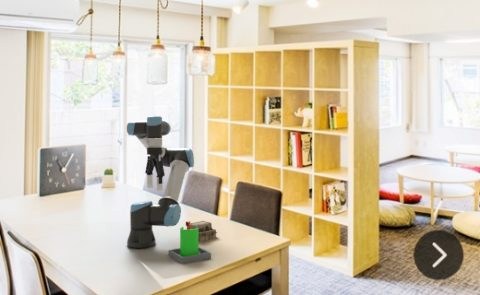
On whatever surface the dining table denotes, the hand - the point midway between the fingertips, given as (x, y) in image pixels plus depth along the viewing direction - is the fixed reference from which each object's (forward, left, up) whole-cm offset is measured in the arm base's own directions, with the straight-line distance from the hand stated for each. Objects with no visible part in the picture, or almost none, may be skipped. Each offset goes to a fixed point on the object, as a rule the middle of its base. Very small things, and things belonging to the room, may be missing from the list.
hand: (154, 189), depth 206 cm
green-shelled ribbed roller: (+10, +14, -34) cm, 38 cm away
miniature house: (-12, +33, -35) cm, 50 cm away
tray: (+9, +15, -35) cm, 39 cm away
